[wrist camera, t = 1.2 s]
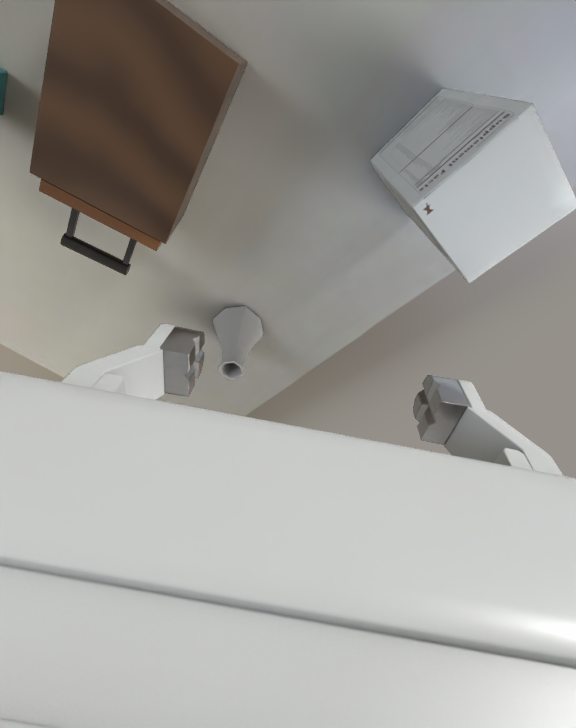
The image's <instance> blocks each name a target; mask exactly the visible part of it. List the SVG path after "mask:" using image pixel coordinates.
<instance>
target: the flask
mask: <svg viewBox="0 0 576 728" xmlns="http://www.w3.org/2000/svg"><path fill="white" fill-rule="evenodd" d="M213 323H214V326H215V330H216V334H217V337H218V340H219V343H220V345H221V349H222V362H221V364H219V366H218V369H219V372H220V375H221V376H223V377H224V378H226V379H227V380H234V379H238V378H240V377H241V376H242V375H244V370H243V363H244V360H245V358H246V356H247V354H248V353H249V352H250V350H251V349H252V348H253V346H254V345H255V344H256V343H257V342H258V341H259V339H260V338H261V337H262V336H263V331H262V325H261V320H260V318H259V317H258V316H257V315H255V314H254V313H253V312H252V311H251V310H250V309H248V308H247V307H246V306H242V307H232V308H225V309H224V310H223V311H222V312H221V313H220V314H218V315H217V316H216V317H215V318H214V319H213Z"/></svg>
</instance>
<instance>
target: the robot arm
mask: <svg viewBox="0 0 576 728" xmlns="http://www.w3.org/2000/svg"><path fill="white" fill-rule="evenodd" d="M204 343H205V334H204V332H201V331H197V330H192V329H187V328H182V327H178V326H177V327H176V326H173V325H167V324H160V325H159V327H158V328H157V329H156V330H155V332H154V333H153V334H152V335H151V337H150V338H149V339H148V340H147V341H146V343H145V344H144V345H143V346H141V345H138V346H135V347H132V348H129V349H126V350H123V351H120V352H117V353H114V354H112V355H109V356H106V357H103V358H100V359H97V360H94V361H91V362H88V363H85V364H82V365H79V366H76V367H75V368H74V369H73V370H72V371H71V372H70V373H69V374H68V375H67V376H66V377H65V378H64V379H63V380H62V381H61V382H55V381H50V380H44V379H39V378H34V377H29V376H23V375H18V374H13V373H7V372H2V371H0V728H576V478H570V477H566V476H563V475H562V473H561V472H560V470H559V468H558V467H557V465H556V464H555V462H554V461H553V459H552V457H551V456H550V455H549V454H547V453H546V452H545V451H543V450H542V449H541V448H539V447H538V446H537V445H535V444H534V443H533V442H531V441H530V440H529V439H527V438H526V437H525V436H523V435H522V434H521V433H519V432H518V431H517V430H515V429H514V428H513V427H511V426H510V425H509V424H507V423H506V422H504V421H503V420H501V419H500V418H499V417H498V416H496V415H495V414H494V413H492V412H491V411H487V410H486V408H485V406H484V405H483V403H482V401H481V399H480V397H479V395H478V393H477V391H476V389H475V388H474V386H473V384H472V383H471V382H469V381H464V380H457V379H450V378H444V377H438V376H432V375H427V377H426V378H425V380H424V381H423V383H422V384H423V387H424V390H422V391H421V392H419V393H418V394H417V396H416V398H415V401H414V407H413V412H414V417H415V419H416V420H418V421H419V424H418V426H417V428H418V431H419V435H420V438H421V440H423V441H427V442H432V443H437V444H441V445H445V448H446V449H447V450H448V451H449V452H450V453H451V455H448V454H442V453H437V452H432V451H426V450H421V449H416V448H410V447H405V446H399V445H394V444H389V443H383V442H377V441H373V440H367V439H362V438H356V437H351V436H346V435H340V434H335V433H330V432H324V431H318V430H313V429H308V428H303V427H297V426H292V425H287V424H281V423H276V422H270V421H265V420H260V419H254V418H249V417H244V416H238V415H233V414H228V413H222V412H217V411H211V410H206V409H201V408H195V407H190V406H185V405H179V404H174V403H168V402H163V401H158V400H156V399H158V398H159V397H161V396H163V395H164V394H165V393H168V394H174V395H180V396H187V397H189V396H190V394H191V392H192V390H193V388H194V386H195V379H196V378H198V377H199V376H200V373H201V371H202V367H203V362H204V352H203V350H202V349H201V348H202V346H203V345H204Z"/></svg>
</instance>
